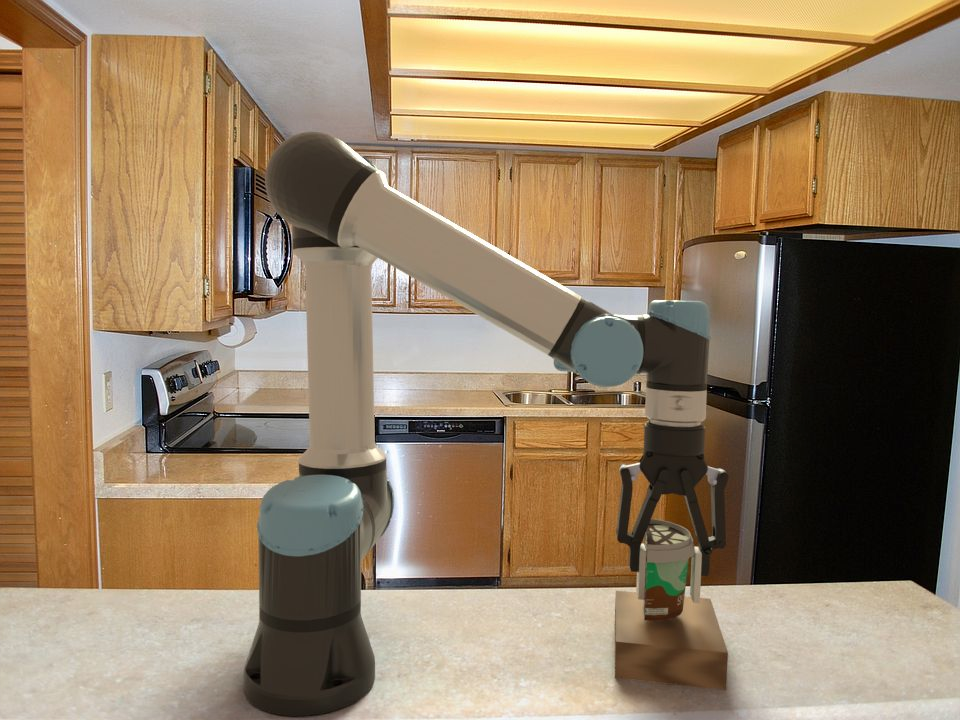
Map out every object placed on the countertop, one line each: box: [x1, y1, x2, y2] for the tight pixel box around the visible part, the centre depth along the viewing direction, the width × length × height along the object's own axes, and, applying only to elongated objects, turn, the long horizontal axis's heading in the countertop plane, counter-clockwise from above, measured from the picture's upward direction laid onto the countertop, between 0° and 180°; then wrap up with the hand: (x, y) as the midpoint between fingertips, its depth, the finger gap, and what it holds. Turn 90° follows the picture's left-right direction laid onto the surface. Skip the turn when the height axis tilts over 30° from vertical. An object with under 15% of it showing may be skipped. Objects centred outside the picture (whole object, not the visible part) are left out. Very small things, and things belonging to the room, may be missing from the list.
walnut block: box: [614, 590, 729, 691], centre depth 96 cm, size 13×16×5 cm
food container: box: [643, 518, 695, 621], centre depth 95 cm, size 12×6×10 cm, turn 169°
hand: (667, 596), depth 95 cm, fingers closed on food container, 6 cm apart
